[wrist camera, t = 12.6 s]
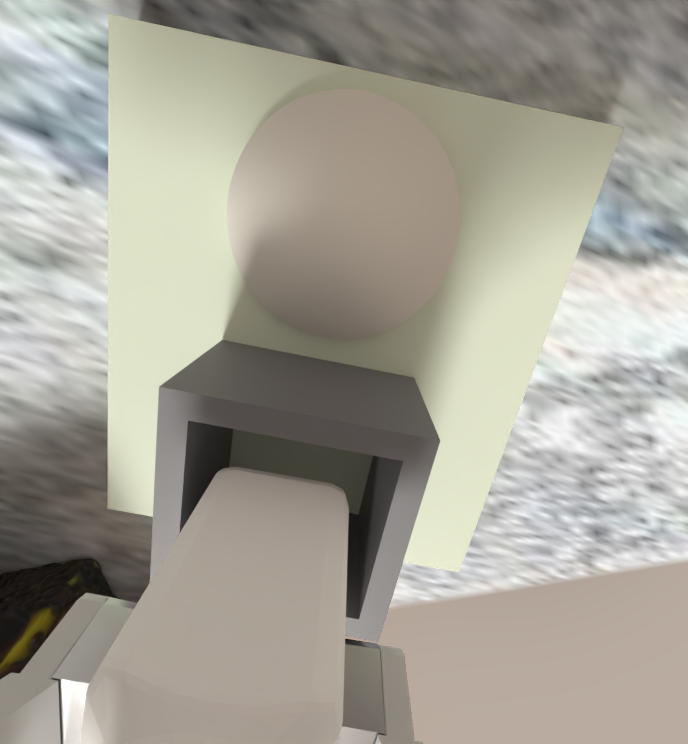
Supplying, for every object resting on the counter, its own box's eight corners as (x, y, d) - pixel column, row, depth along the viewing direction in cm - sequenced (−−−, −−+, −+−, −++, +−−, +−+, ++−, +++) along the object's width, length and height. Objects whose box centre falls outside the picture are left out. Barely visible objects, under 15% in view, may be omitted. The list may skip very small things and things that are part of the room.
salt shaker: (329, 582, 13) (268, 1377, 4) (208, 561, 13) (-149, 1331, 4) (353, 478, 12) (340, 1295, 3) (218, 454, 12) (-280, 1222, 2)
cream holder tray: (135, 37, 13) (-60, -140, 7) (595, 139, 14) (791, 56, 8) (126, 488, 19) (14, 608, 13) (451, 548, 19) (495, 691, 13)
